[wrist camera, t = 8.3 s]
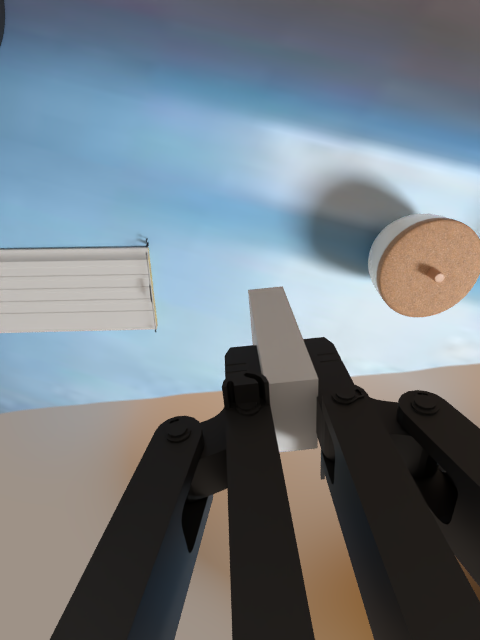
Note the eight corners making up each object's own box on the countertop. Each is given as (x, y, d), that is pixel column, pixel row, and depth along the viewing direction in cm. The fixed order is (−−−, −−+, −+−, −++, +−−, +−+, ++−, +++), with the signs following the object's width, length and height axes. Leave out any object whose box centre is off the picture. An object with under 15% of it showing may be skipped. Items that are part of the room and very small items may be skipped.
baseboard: (-131, 236, 42) (-87, 329, 48) (-154, 244, 40) (-104, 341, 46) (148, 232, 44) (158, 323, 50) (144, 240, 41) (155, 334, 47)
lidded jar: (366, 301, 49) (396, 339, 41) (345, 225, 44) (375, 250, 36) (448, 271, 48) (497, 303, 39) (437, 188, 43) (490, 205, 34)
